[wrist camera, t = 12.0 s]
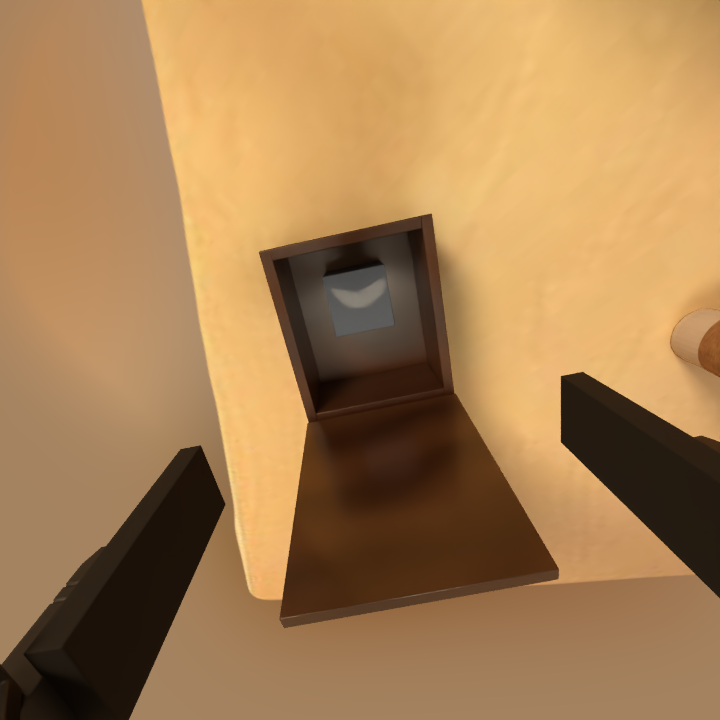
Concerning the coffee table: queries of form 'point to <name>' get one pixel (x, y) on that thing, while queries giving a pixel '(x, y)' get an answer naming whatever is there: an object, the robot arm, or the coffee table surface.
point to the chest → (370, 348)
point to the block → (359, 298)
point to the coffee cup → (699, 339)
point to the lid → (403, 516)
